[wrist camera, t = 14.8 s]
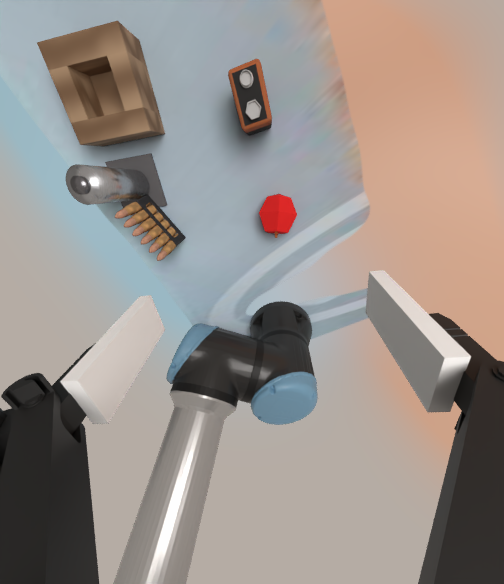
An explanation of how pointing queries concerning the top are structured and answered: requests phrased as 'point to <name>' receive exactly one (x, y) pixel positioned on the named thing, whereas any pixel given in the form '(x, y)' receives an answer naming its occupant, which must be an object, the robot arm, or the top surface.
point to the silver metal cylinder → (105, 184)
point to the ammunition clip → (152, 225)
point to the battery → (251, 97)
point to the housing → (103, 84)
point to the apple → (277, 214)
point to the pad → (150, 172)
